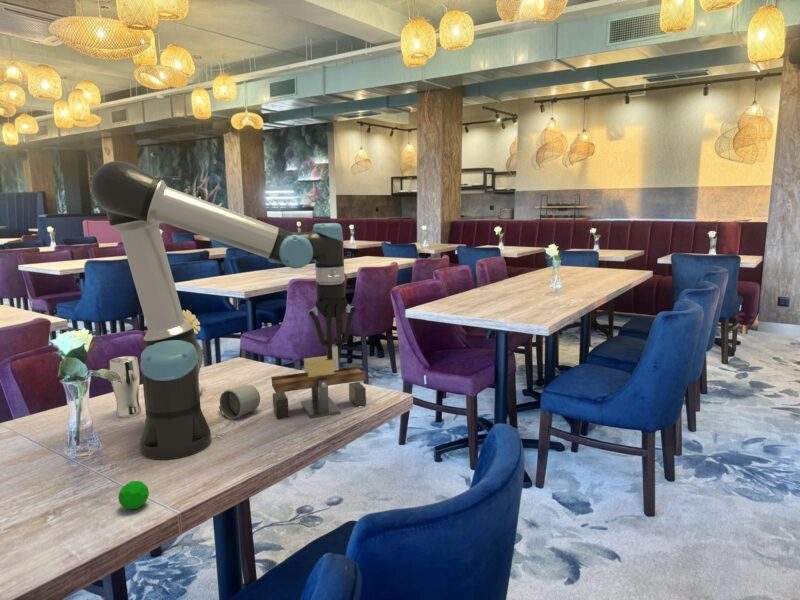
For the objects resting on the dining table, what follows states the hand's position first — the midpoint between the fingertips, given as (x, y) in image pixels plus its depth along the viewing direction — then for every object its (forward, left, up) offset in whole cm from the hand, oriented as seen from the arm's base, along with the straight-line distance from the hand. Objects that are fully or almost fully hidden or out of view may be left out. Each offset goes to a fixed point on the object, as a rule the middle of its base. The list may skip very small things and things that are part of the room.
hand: (334, 369), depth 150 cm
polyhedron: (-47, -36, -11) cm, 60 cm away
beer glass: (-52, +17, -11) cm, 56 cm away
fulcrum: (-4, 0, -11) cm, 11 cm away
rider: (-4, 0, -2) cm, 4 cm away
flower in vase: (-38, +27, -11) cm, 48 cm away
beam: (-4, 0, -3) cm, 5 cm away
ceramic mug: (-26, +5, -11) cm, 28 cm away
